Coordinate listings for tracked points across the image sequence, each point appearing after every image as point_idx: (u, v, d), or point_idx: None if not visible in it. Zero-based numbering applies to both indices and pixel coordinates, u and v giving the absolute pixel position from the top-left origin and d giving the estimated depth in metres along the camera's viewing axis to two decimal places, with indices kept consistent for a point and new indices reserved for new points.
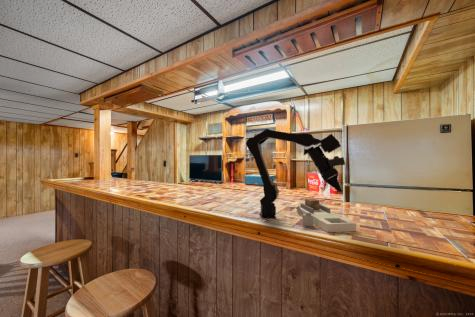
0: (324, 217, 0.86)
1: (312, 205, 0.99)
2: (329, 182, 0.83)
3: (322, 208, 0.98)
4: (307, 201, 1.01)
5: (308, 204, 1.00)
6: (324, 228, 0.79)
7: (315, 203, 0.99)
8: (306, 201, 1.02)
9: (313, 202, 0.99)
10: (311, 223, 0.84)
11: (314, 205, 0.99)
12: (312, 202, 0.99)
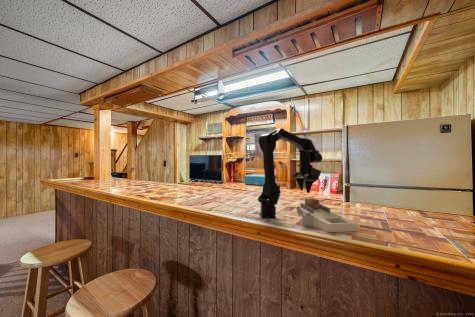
0: (324, 217, 0.86)
1: (312, 205, 0.99)
2: (306, 183, 1.04)
3: (322, 208, 0.98)
4: (307, 201, 1.01)
5: (308, 204, 1.00)
6: (324, 228, 0.79)
7: (315, 203, 0.99)
8: (306, 201, 1.02)
9: (313, 202, 0.99)
10: (311, 223, 0.84)
11: (314, 205, 0.99)
12: (312, 202, 0.99)
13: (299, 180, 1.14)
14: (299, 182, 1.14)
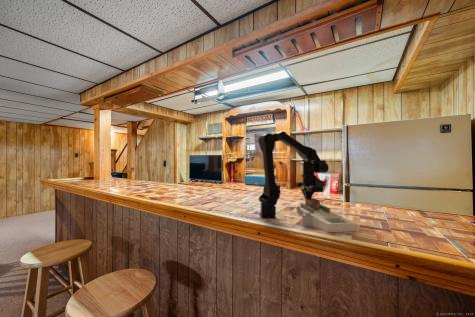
0: (324, 217, 0.86)
1: (312, 205, 0.99)
2: (307, 193, 1.03)
3: (322, 208, 0.98)
4: (307, 201, 1.01)
5: (308, 204, 1.00)
6: (324, 228, 0.79)
7: (316, 203, 0.99)
8: (306, 201, 1.02)
9: (313, 202, 0.99)
10: (311, 223, 0.84)
11: (314, 205, 0.99)
12: (312, 202, 0.99)
13: None
14: None
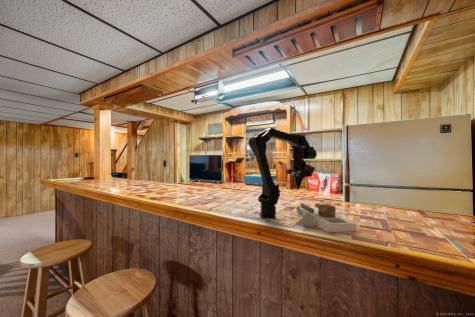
0: None
1: (327, 212, 0.86)
2: (296, 179, 1.04)
3: None
4: (321, 207, 0.88)
5: (322, 211, 0.87)
6: (324, 228, 0.79)
7: (331, 209, 0.86)
8: (320, 207, 0.89)
9: (328, 209, 0.86)
10: (311, 223, 0.84)
11: (329, 212, 0.86)
12: (327, 209, 0.86)
13: None
14: None
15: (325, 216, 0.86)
